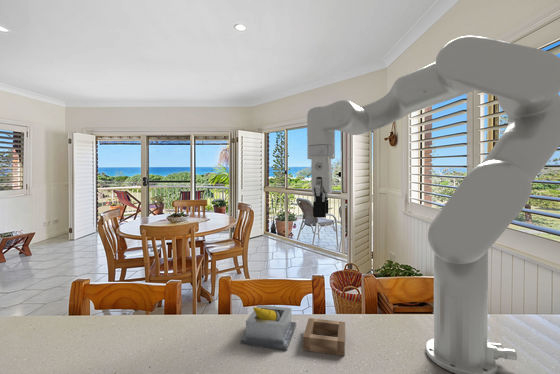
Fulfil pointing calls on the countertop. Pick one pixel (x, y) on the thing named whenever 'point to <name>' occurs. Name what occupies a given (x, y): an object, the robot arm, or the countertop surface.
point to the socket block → (324, 342)
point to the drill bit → (267, 314)
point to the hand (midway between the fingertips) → (321, 215)
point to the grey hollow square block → (269, 330)
